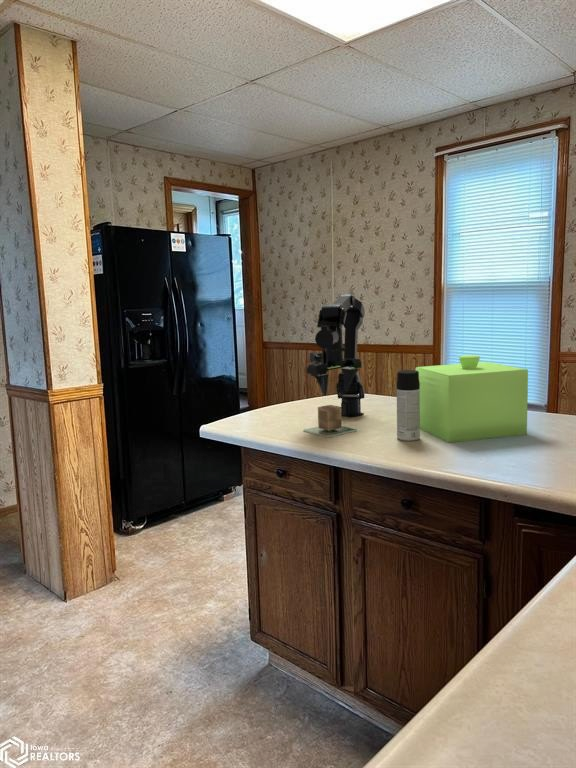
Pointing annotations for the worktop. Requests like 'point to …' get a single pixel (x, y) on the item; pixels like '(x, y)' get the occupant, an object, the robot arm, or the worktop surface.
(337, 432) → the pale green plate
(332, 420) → the brown shipping carton
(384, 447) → the worktop surface
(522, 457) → the worktop surface
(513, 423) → the canister
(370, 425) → the worktop surface
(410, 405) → the spray can
